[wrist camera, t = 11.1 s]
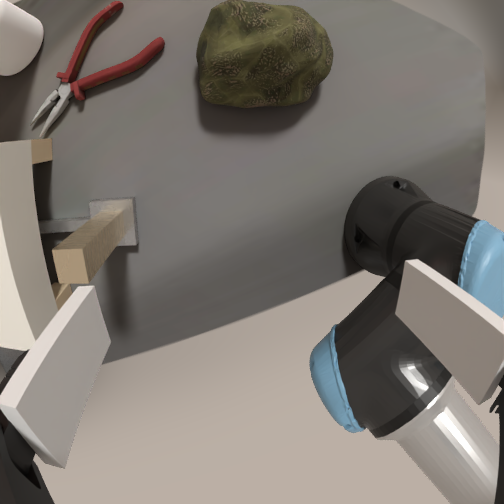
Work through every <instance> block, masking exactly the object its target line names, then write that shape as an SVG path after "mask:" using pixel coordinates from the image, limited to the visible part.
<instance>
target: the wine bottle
mask: <svg viewBox="0 0 504 504" xmlns="http://www.w3.org/2000/svg"><path fill="white" fill-rule="evenodd" d="M43 33H44V32H43V26H42V24H41V22H40V21H39V20H38V19H36V18H35V17H33V16H32V15H30V14H28V13H27V12H25V11H23V10H22V9H20V8H18V7H17V6H15V5H13V4H11V3H10V2H8V1H6V0H0V75H3V76H10V75H14V74H16V73H18V72H20V71H21V70H23V69H24V68H25V67H26V66H28V65H29V63H30V62H31V61H32V60H33V59H34V57H35V56H36V54H37V52H38V51H39V49H40V46H41V44H42V40H43Z"/></svg>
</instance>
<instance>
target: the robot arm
mask: <svg viewBox="0 0 504 504" xmlns="http://www.w3.org/2000/svg"><path fill="white" fill-rule="evenodd" d="M345 240H346V245H347V248H348V250H349V253H350V254H351V256H352V258H353V259H354V260H355V261H356V262H357V263H358V264H359V265H360V266H361V267H363V268H364V269H365V270H367V271H368V272H370V273H373V274H375V275H380V276H384V277H385V279H383V280H382V281H381V282H380V283H379V284H378V285H377V287H376V288H375V289H374V290H373V291H372V292H371V293H370V294H369V295H368V296H367V297H366V298H365V299H364V300H363V301H362V302H361V303H360V304H359V305H358V306H357V307H356V308H355V309H354V310H353V311H352V312H351V313H350V314H349V315H348V316H347V317H346V318H345V319H344V320H342V321H341V322H340V323H339V324H337V325H334V326H333V327H332V329H331V331H330V332H329V333H328V334H327V335H326V336H325V337H324V338H323V339H322V340H321V341H320V342H319V343H318V344H317V345H316V347H315V348H314V349H313V351H312V353H311V356H310V371H311V376H312V380H313V383H314V385H315V388H316V390H317V392H318V394H319V397H320V398H321V400H322V402H323V404H324V405H325V407H326V409H327V410H328V412H329V413H330V414H331V416H332V417H333V418H334V419H335V421H336V422H337V423H338V424H339V425H341V426H343V427H344V428H345V429H346V430H347V431H349V432H352V433H356V432H359V431H360V432H361V431H363V430H364V429H366V428H368V429H369V431H370V432H371V433H372V434H373V435H374V436H375V438H377V439H378V440H396V441H397V442H398V443H399V444H400V446H401V447H402V448H403V449H404V450H405V451H406V453H407V454H408V455H409V456H410V457H411V458H412V460H413V461H414V462H415V463H416V464H417V465H418V467H419V468H420V469H421V470H422V471H423V472H424V474H425V475H426V476H427V477H428V478H429V479H430V480H431V481H432V483H433V484H434V485H435V486H436V487H437V489H438V490H439V491H440V492H441V493H442V494H443V495H444V497H445V498H446V499H447V500H448V501H449V502H450V504H504V320H503V319H502V317H503V315H504V232H502V231H501V230H499V229H497V228H496V227H494V226H492V225H490V224H489V223H488V222H487V221H485V220H479V219H477V218H474V217H472V216H469V215H467V214H464V213H462V212H459V211H457V210H454V209H452V208H449V207H446V206H444V205H441V204H438V203H435V202H433V201H432V200H431V199H430V198H429V197H428V196H427V195H426V194H425V193H424V192H423V191H422V190H421V189H420V188H419V187H418V186H417V185H415V184H414V183H412V182H410V181H408V180H406V179H402V178H399V177H394V176H386V177H381V178H378V179H376V180H374V181H372V182H370V183H369V184H367V185H366V186H365V187H364V188H363V189H362V190H361V191H360V192H359V193H358V194H357V196H356V197H355V199H354V200H353V202H352V204H351V206H350V208H349V211H348V214H347V218H346V223H345ZM110 343H111V341H110V338H109V335H108V332H107V329H106V325H105V322H104V319H103V316H102V312H101V309H100V305H99V302H98V298H97V294H96V291H95V287H94V286H79V287H78V288H77V289H76V290H75V291H74V293H73V294H72V295H71V296H70V297H69V299H68V300H67V301H66V302H65V304H64V305H63V306H62V307H61V309H60V310H59V311H58V312H57V314H56V315H55V316H54V318H53V319H52V320H51V322H50V323H49V324H48V326H47V327H46V328H45V330H44V331H43V332H42V334H41V335H40V336H39V338H38V339H37V340H36V342H35V343H34V345H33V346H32V347H31V349H28V350H27V351H25V352H24V353H23V354H22V355H20V356H19V357H18V358H17V360H16V361H15V363H14V364H13V365H12V367H11V370H9V371H8V373H7V374H6V378H4V379H3V380H2V382H1V384H0V504H54V502H53V500H52V498H51V496H50V494H49V491H48V489H47V487H46V485H45V483H44V480H43V478H42V476H41V473H40V471H39V469H38V467H37V465H36V464H35V462H34V461H33V458H34V455H35V453H36V454H37V455H38V456H39V457H40V458H41V460H42V461H43V462H44V463H46V464H49V465H53V466H56V467H60V468H65V466H66V463H67V459H68V456H69V453H70V449H71V446H72V443H73V440H74V437H75V433H76V431H77V428H78V425H79V422H80V419H81V416H82V414H83V411H84V408H85V405H86V402H87V400H88V397H89V394H90V392H91V389H92V387H93V384H94V382H95V379H96V376H97V374H98V371H99V369H100V367H101V364H102V362H103V359H104V357H105V355H106V352H107V350H108V348H109V345H110ZM455 379H456V380H457V381H458V382H459V383H460V384H461V385H462V387H463V388H464V389H465V390H466V391H467V393H468V394H469V395H470V396H471V397H472V398H473V400H474V401H475V402H476V403H477V404H478V405H480V404H481V403H483V402H485V401H486V400H488V399H489V398H491V397H492V395H493V393H494V391H495V390H496V388H497V386H498V385H499V386H500V387H501V388H502V390H501V392H500V393H499V395H498V397H497V398H496V400H495V401H494V403H493V405H492V406H491V408H490V413H491V412H492V411H493V410H494V408H495V407H496V405H499V407H498V408H497V410H496V411H495V413H499V419H500V446H499V445H498V443H497V442H496V441H495V439H494V438H493V436H492V435H491V434H490V432H489V431H488V430H487V429H486V427H485V426H484V425H483V423H482V422H481V421H480V419H479V418H478V417H477V415H476V414H475V413H474V412H473V410H472V409H471V408H470V406H469V405H468V404H467V403H466V402H465V400H464V399H463V398H462V397H461V395H460V394H459V393H458V392H457V390H456V389H455V386H454V383H455Z"/></svg>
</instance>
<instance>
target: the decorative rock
mask: <svg viewBox="0 0 504 504" xmlns="http://www.w3.org/2000/svg"><path fill="white" fill-rule="evenodd" d="M196 57H197V62H198V67H199V82H200V91H201V94H202V96H203V98H204V99H205V100H206V101H207V102H209V103H213V104H218V105H229V106H236V107H240V108H253V107H260V106H288V105H294V104H299V103H303V102H305V101H307V100H308V99H309V98H310V96H311V94H312V92H313V90H314V89H315V87H316V86H317V85H318V84H319V83H320V82H322V81H323V80H324V79H325V78H326V77H327V75H328V74H329V72H330V70H331V66H332V61H333V49H332V46H331V43H330V40H329V37H328V35H327V32H326V30H325V29H324V28H323V27H322V26H321V25H320V24H319V23H318V22H317V21H316V20H315V19H314V18H312V17H311V16H310V15H309V14H308V13H307V12H306V11H305V10H304V9H302V8H300V7H297V6H289V5H270V4H265V3H258V2H246V1H243V0H227V1H225V2H222V3H220V4H219V5H217V6H215V7H214V8H212V9H211V12H210V14H209V17H208V20H207V22H206V24H205V27H204V29H203V31H202V33H201V35H200V38H199V42H198V47H197V52H196Z"/></svg>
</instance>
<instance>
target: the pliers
mask: <svg viewBox="0 0 504 504" xmlns="http://www.w3.org/2000/svg"><path fill="white" fill-rule="evenodd" d="M122 7H123V3H122V2H120V1H115V2H112V3H111V4H109V5H108V6H107V7H106V8H104V9H103V10H102V11H100V12H99V13H98V14H97V15H96V16H94V17H93V18H92V20H91V21H90V22H89V23H88V25H87V26H86V28H85V30H84V31H83V33H82V35H81V37H80V40H79V42H78V44H77V46H76V48H75V51H74V53H73V55H72V58H71V60H70V63H69V65H68V68H67V70H66V73H61V72H58V74H57V76H56V77H57V78H60V79H62V81H61V82H63V83H62V84H61V86H60V87H59V90H55V91H54V92H53V93H52V94H51V95H50V96H49V97H48V98H47V99H46V101H45V102H44V104H43V105H42V106H41V108H40V109H39V111H38V112H37V114H36V116H35V117H34V119H33V120H32V122H31V123H30V125H32V124H33V123H34V122H35V121H36V120H37V119H39V118H40V117H41V116H42V115H43V114H44V113H45V112H47V111H48V110H49V109H50V108H51V107H52V106H53V105H54V104H55V103H56V99H57V97H58V96H60V97H61V98H60V100H59V102H58V103H57V105H56V106H54V108H53V110H52V111H51V113H50V115H49V117H48V119H47V121H46V123H45V125H44V128H43V130H42V132H41V134H40V136H39V138H41V137H42V136H43V134H44V133H45V132H46V131H47V129H48V128H49V127H50V126H51V125H52V124H53V122H54V121H55V120H56V119H57V118H58V117H59V116H60V114H61V113H62V112H63V111H64V109H65V108H66V106H67V105H68V103H69V102H70V101H69V100H68V99H69V98H71V97H72V96H73V95H74V94H75V97H76V99H77V100H84V99H86V98H85V92H84V91H85V90H87V89H89V88H92V87H94V86H97V85H99V84H102V83H105V82H107V81H110V80H113V79H115V78H118V77H121V76H124V75H127V74H129V73H131V72H133V71H136V70H137V69H139V68H141V67H142V66H144V65H145V64H146V63H147V62H148V61H150V60H151V59H152V58H153V57H154V56H155V55H156V54H157V53H158V52H159V51H161V50H162V49H163V47H164V45H165V42H164V40H163V38H161V37H159V38H157V39H155V40H154V41H152V42H151V43H150V44H149V45H148V46H147V47H146V48H144V49H143V50H142V51H141V52H140V53H139V54H137V55H136V56H135V57H133V58H131V59H129V60H127V61H125V62H123V63H121V64H118V65H115V66H112V67H109V68H107V69H104V70H102V71H99V72H97V73H94V74H92V75H89V76H87V77H84V78H82V79H80V80H78V81H75V79H76V76H77V74H78V71H79V69H80V66H81V64H82V61H83V59H84V57H85V54H86V52H87V50H88V47H89V45H90V43H91V41H92V39H93V37H94V35H95V33H96V32H97V30H98V29H99V27H100V26H101V25H102V24H103V23H104V22H105V21H106V20H107V19H109V18H110V17H111V16H112V15H114V14H115V13H116V12H117V11H119V10H120V9H121V8H122Z"/></svg>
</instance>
